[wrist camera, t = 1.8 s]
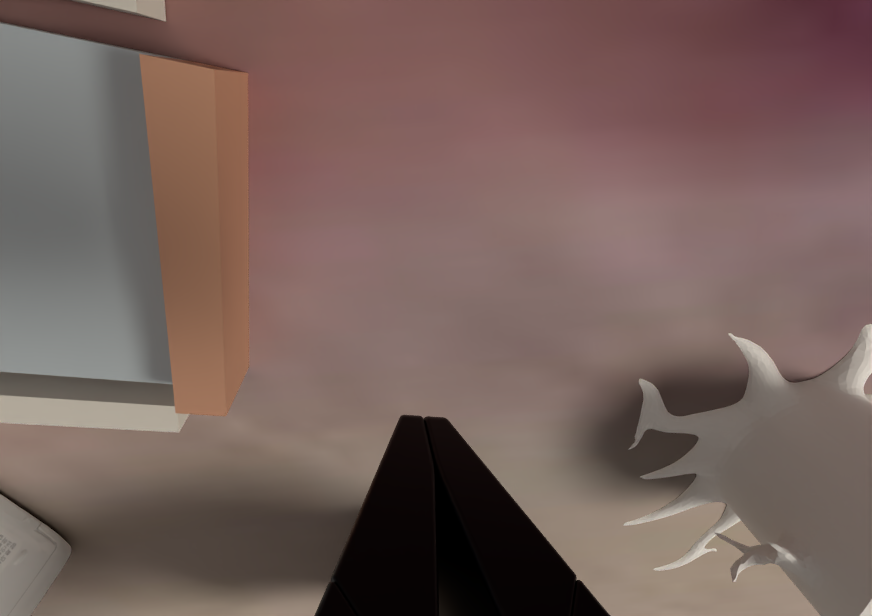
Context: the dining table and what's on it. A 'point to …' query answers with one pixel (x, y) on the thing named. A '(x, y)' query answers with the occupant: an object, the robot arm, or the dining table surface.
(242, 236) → the orange and grey box
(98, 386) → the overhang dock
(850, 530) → the tree stump
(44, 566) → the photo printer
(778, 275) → the dining table surface
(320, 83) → the dining table surface
